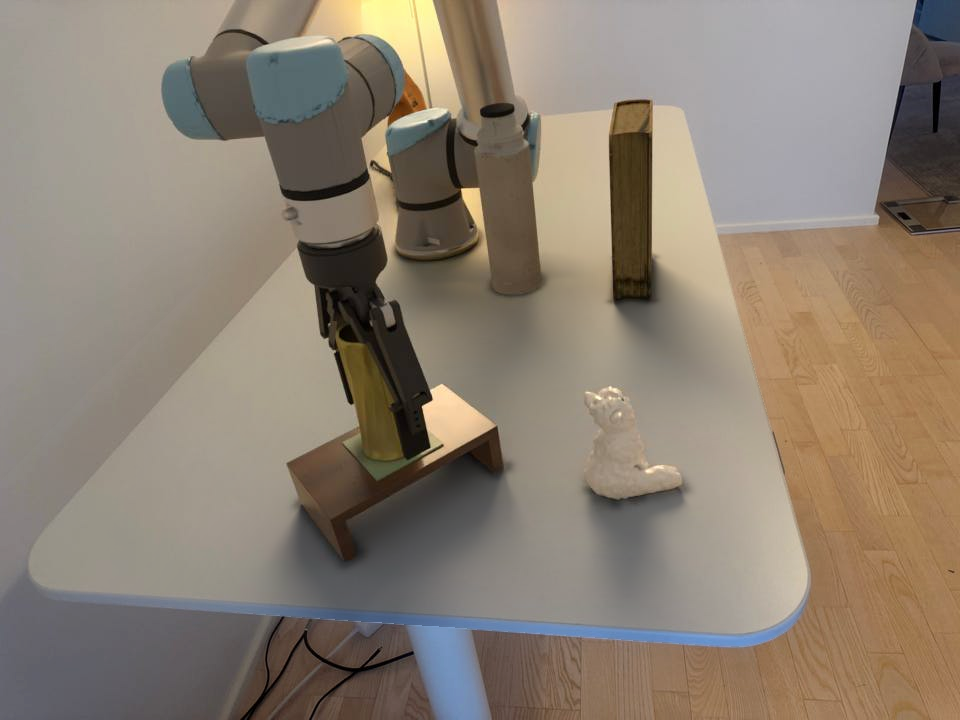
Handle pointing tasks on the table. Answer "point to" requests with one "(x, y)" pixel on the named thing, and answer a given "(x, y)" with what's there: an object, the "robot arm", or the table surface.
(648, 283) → the book
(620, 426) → the white creature statuette
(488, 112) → the thermos bottle
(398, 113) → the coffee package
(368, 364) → the vase
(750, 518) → the table surface
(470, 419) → the shelf
